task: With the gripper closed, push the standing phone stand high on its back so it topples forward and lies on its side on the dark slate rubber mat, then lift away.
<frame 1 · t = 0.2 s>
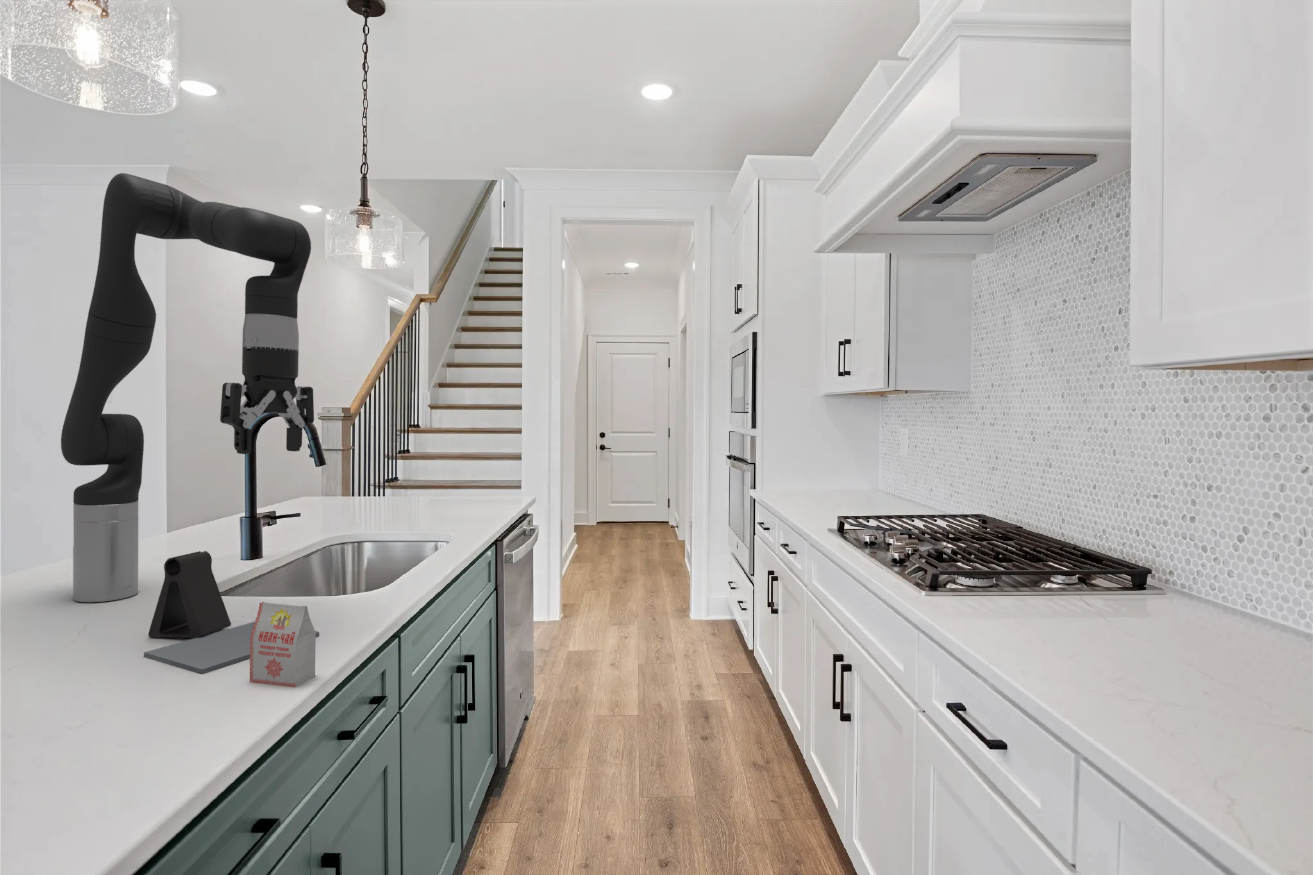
hand: (269, 452, 106), 29 cm above the countertop, fingers open, 8 cm apart
phone stand: (190, 632, 107), on the countertop, touching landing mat
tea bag: (282, 680, 91), on the countertop
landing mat: (236, 645, 102), on the countertop
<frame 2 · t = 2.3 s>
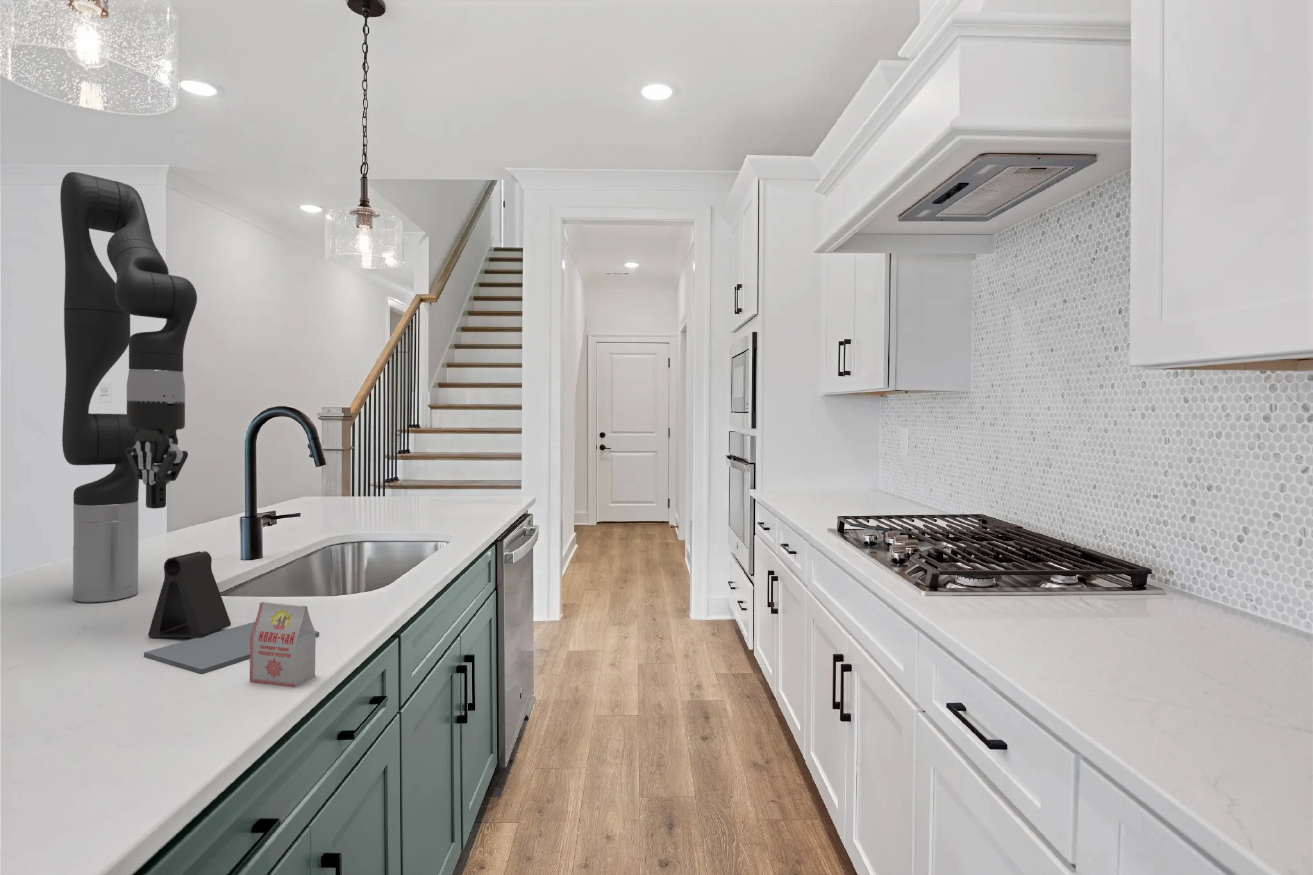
hand: (156, 507, 110), 19 cm above the countertop, fingers closed
nothing on the countertop moved.
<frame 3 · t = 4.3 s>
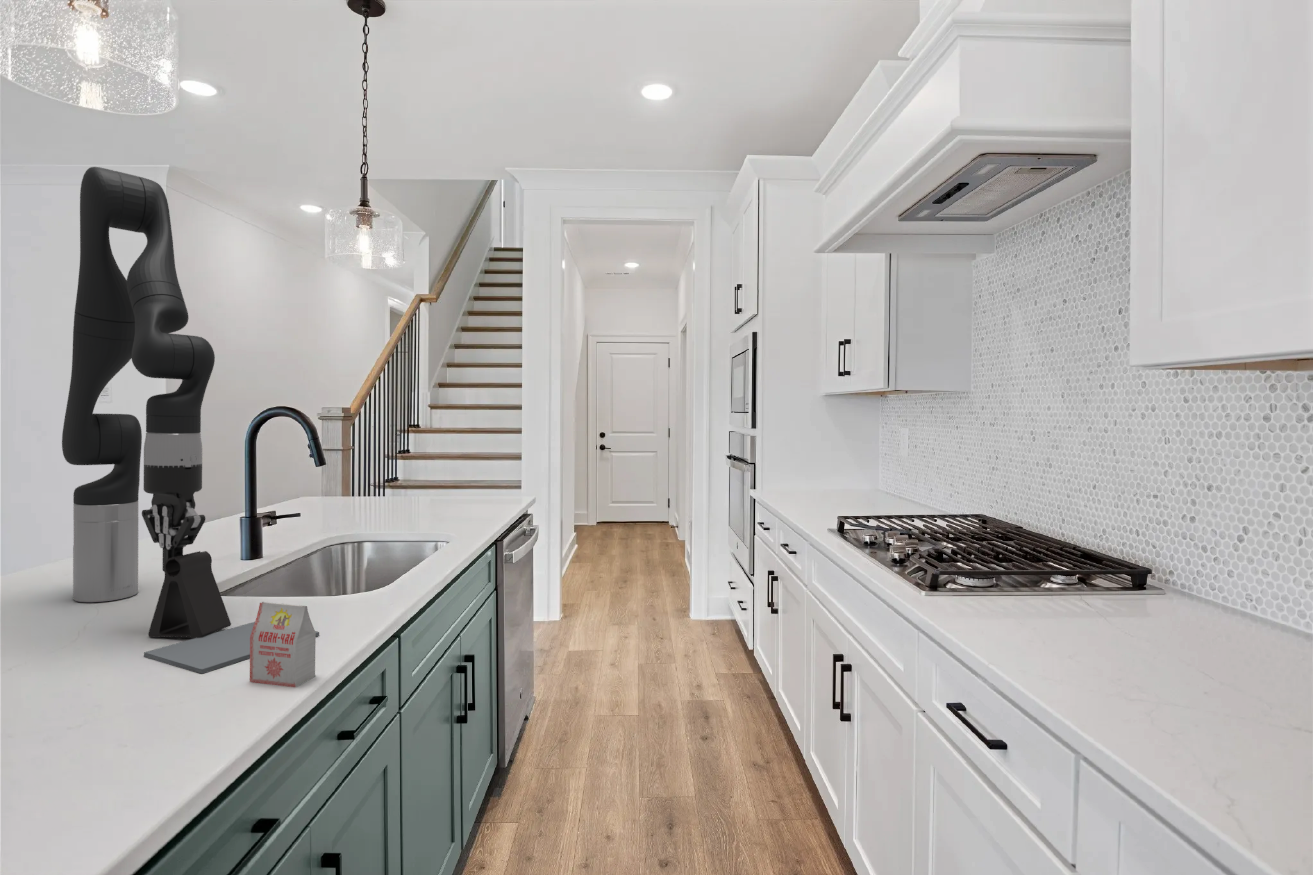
hand: (172, 571, 108), 9 cm above the countertop, fingers closed
phone stand: (190, 632, 107), on the countertop, touching gripper, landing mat
everything else where it was.
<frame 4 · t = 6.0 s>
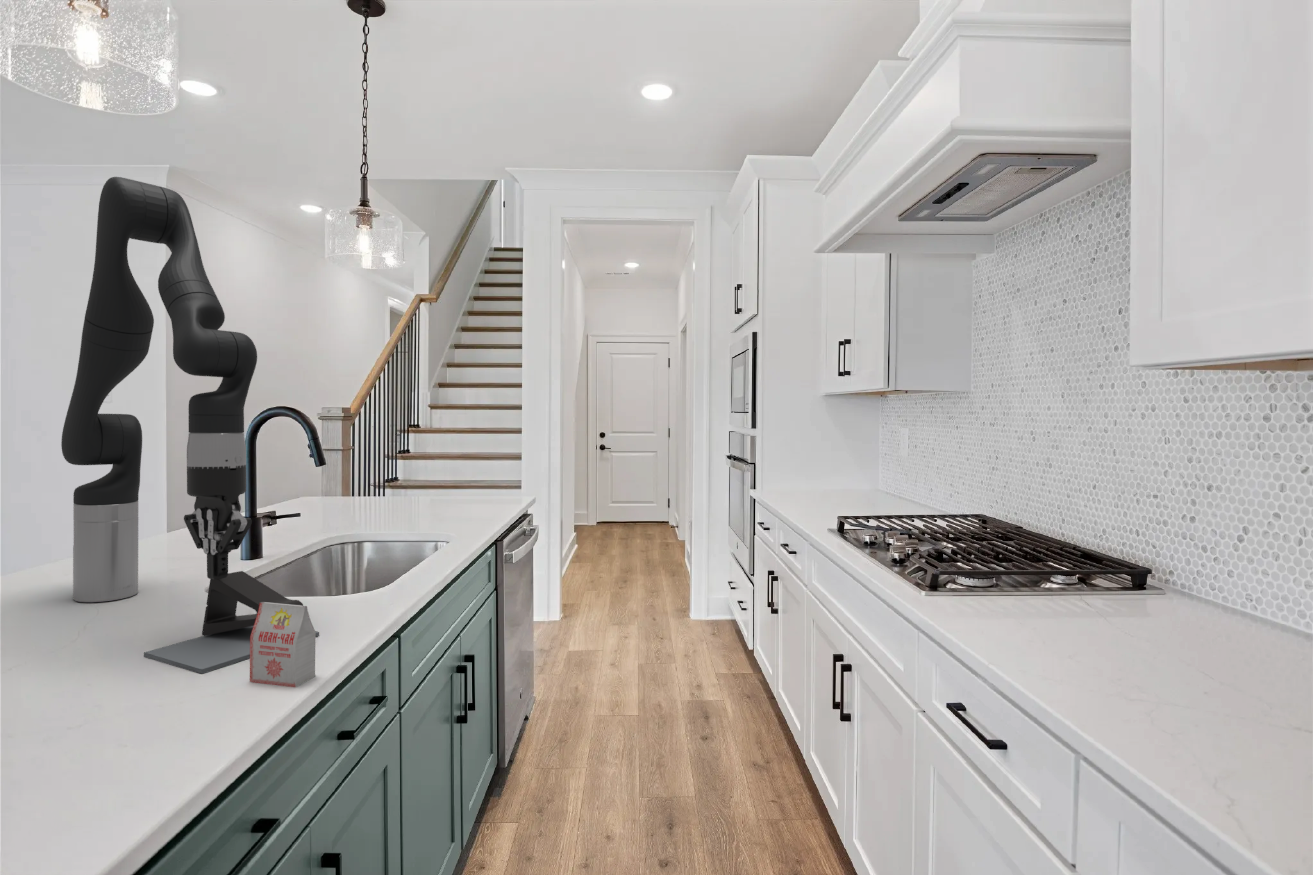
hand: (217, 578, 103), 10 cm above the countertop, fingers closed
phone stand: (220, 601, 107), point 5 cm above the countertop, touching gripper, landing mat
everything else where it was.
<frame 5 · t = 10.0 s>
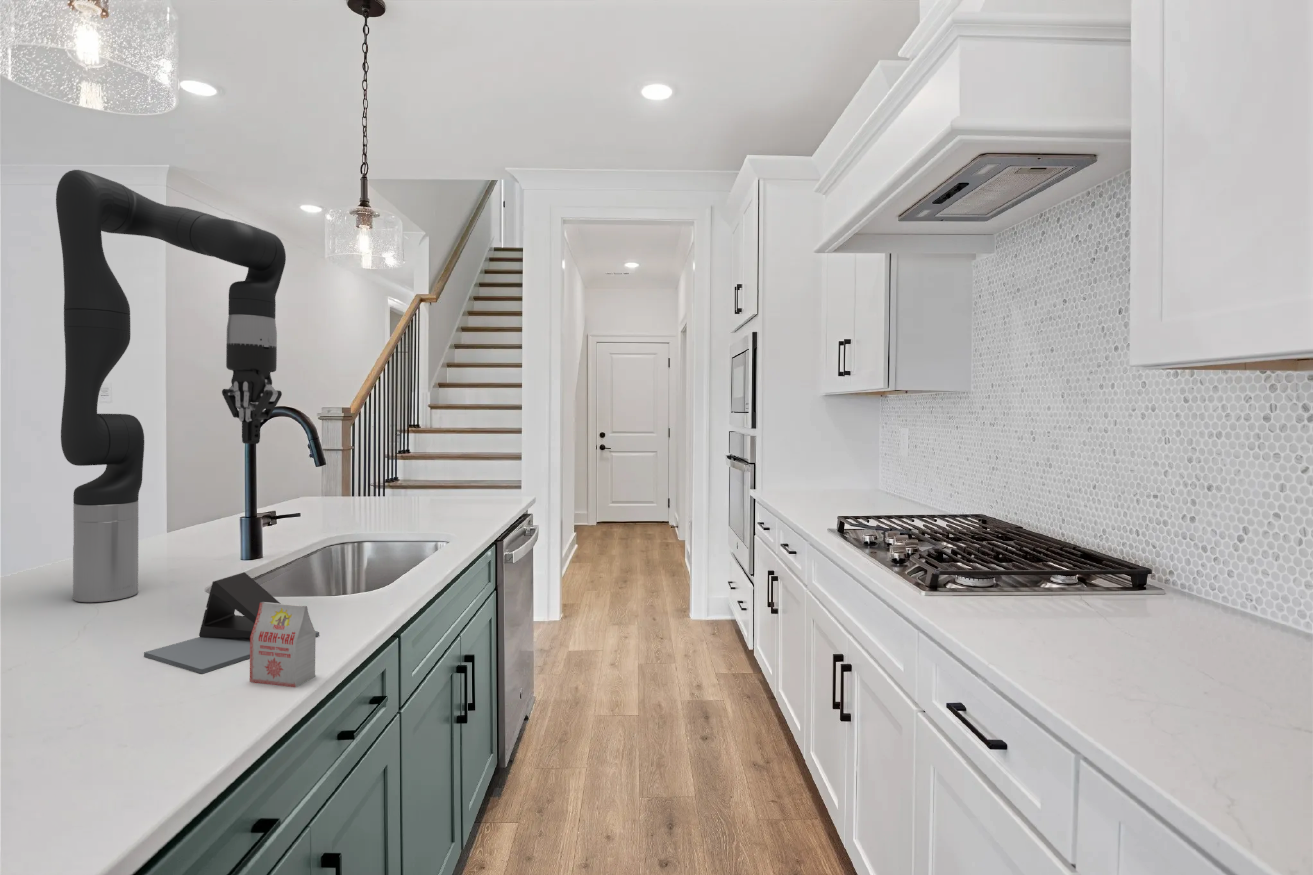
hand: (251, 443, 120), 29 cm above the countertop, fingers closed
phone stand: (220, 602, 106), point 5 cm above the countertop, touching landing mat
everything else where it was.
at the end: phone stand tilted 105°; phone stand inside the target area (1.7 cm from its centre), point 5.1 cm above the countertop; phone stand touching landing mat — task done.
